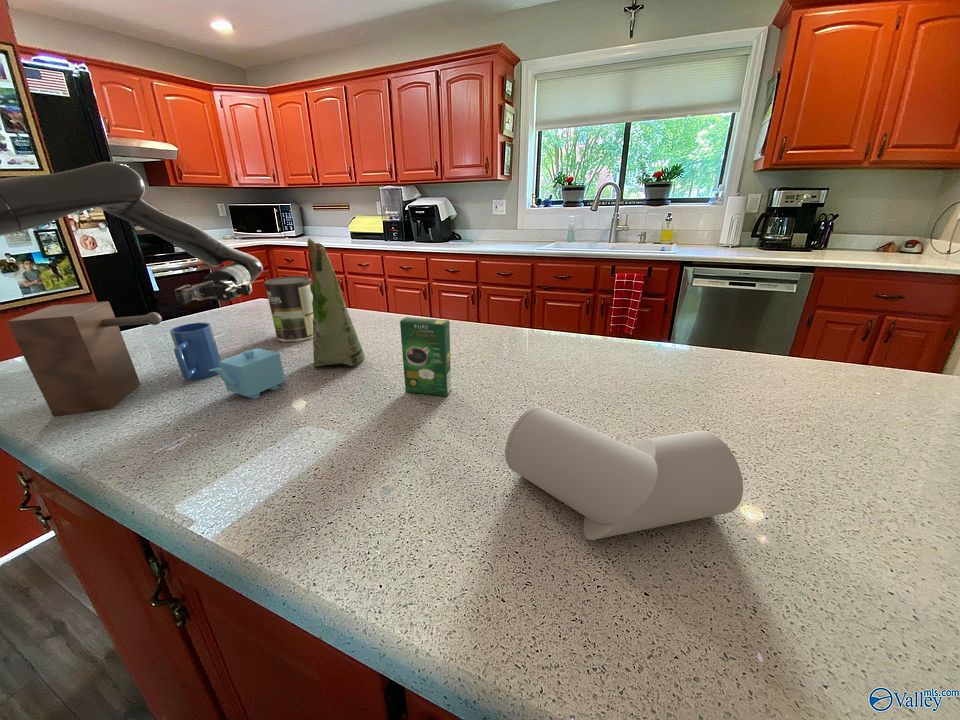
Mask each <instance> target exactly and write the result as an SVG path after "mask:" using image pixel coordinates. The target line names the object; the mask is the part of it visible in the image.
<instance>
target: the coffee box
mask: <svg viewBox="0 0 960 720" xmlns="http://www.w3.org/2000/svg"><path fill="white" fill-rule="evenodd" d="M399 325H400V326H399V327H400V339H401V353H402V365H403V375H404V389H405V392H406V393H412V394H422V395H423V394H424V395H432V396H439V397H441V396H443V397H448V396H449V394H450V393H451V391H452V369H451V368H452V367H451V331H450V329H451V327H450V320H449V319H434V318H422V317H421V318H420V317H411V316H410V317H409V316H405V317H404V318H402V319H401V320H400V321H399Z"/></svg>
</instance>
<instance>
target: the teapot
mask: <svg viewBox="0 0 960 720" xmlns="http://www.w3.org/2000/svg"><path fill="white" fill-rule="evenodd" d="M219 365H220V368H213V369H210V370H209V371H213V372H216V373H218V374H217V375H219V377H220V379H221V380H222V381H223V382H224V385H225V389H226V391H228V392H230V393H234V394H237V395H240V396H244V397H247V398H250V399H252V400H253V399H258V398H260V396H261V393H262V392H264V391H266V390H270V391H274V390H277V389H279V386H278V385H279V384H282V383H284V382H286V377H285V374H284V369H283V364H282V359H281V355H280V353H279V352H276V351H275V350H267V349H262V348H258V347H256V348H253V349H248V350H244V351H243V352H242V353H239V354H236V355H233V356H230V357H228V358H224V359H221V361H219Z"/></svg>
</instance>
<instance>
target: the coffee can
mask: <svg viewBox="0 0 960 720" xmlns="http://www.w3.org/2000/svg"><path fill="white" fill-rule="evenodd" d="M263 283H264V284H263V285H264V287H265V291H266V295H267V300H268V304H269V309H270V313H271V317H272V321H273V326H274V331H275V335H276V340H277V341H278V342H282V343H299V342H304V341H309V340H312V339H314V337H313V306H312V301H313V294H312V292H311V289H310V284H311V283H312V277H310V276H304V275H292V276H282V277H275V278H271V279H267V280H266V281H264V282H263Z"/></svg>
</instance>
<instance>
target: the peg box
mask: <svg viewBox="0 0 960 720" xmlns="http://www.w3.org/2000/svg"><path fill="white" fill-rule="evenodd" d="M162 320H163V317H162V315H160V313H158V312H153V311H152V312H151V311H150V312H149V313H147V314H143V315H133V316H132V315H131V316H121V317H116V316H115V312H114V311H113V308H112V306H111V303H110V301H107V300H106V301H94V302H81V303H68V304H67V303H65V304H52V305H49V306H46V307H44V308H40V309H38V310H35V311H33V312H30V313H27V314H24V315H21V316H17V317H16V318H13V319H10V320H7V321H6V324H7V326H8V328H9V329H10V331H11V334H12V336H13V338H14V340H15V342H16V344H17V346H18V348H19V350H20V351H21V354H22V356H23V357H24V360H25V362H26V364H27V366H28V369H29V370H30V373H31V374H32V377H33V378H34V380H35V382H36V385H37V386H38V389H39V391H40V393H41V394H42V397H43V399H44V400H45V403H46V405H47V407H48V408H49V411H50V413H51V415H52V417H59V416H65V415H66V416H67V415H74V414H81V413H82V414H83V413H90V412H98V411H104V410H112V409H113V408H115V407H116V406H117V405H119V403H121V401H123V400H124V399H125V398H126V397H127V396H128V395H130V394H131V393H132V392H134V390H136V389H137V388H138V387H139V386H140V385H141V381H140V379H139V376H138V373H137V371H136V368H135V366H134V363H133V360H132V358H131V355H130V353H129V350H128V347H127V344H126V342H125V339H124V336H123V334H122V332H121V329H120V327H121V326H133V325H145V324H148V325H152V326H157V325H160V324H161V323H162Z"/></svg>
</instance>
